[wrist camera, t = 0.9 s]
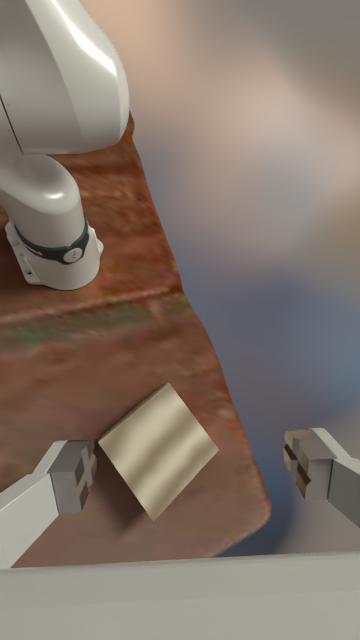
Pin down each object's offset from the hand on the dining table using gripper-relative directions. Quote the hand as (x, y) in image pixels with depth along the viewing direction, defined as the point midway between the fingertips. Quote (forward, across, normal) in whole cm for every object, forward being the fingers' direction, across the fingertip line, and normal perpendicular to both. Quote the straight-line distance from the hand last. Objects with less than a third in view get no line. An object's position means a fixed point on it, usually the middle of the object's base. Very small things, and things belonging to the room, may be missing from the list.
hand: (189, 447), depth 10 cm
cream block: (+32, +6, +28) cm, 43 cm away
